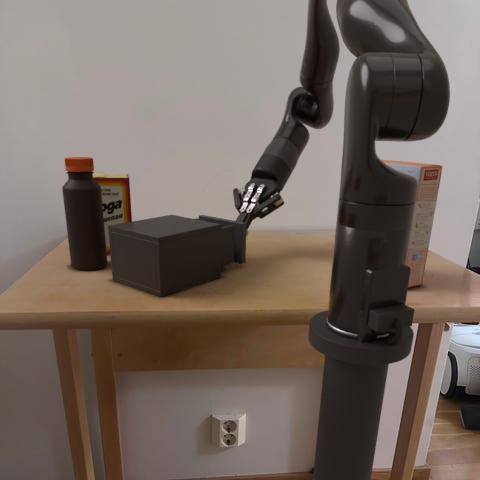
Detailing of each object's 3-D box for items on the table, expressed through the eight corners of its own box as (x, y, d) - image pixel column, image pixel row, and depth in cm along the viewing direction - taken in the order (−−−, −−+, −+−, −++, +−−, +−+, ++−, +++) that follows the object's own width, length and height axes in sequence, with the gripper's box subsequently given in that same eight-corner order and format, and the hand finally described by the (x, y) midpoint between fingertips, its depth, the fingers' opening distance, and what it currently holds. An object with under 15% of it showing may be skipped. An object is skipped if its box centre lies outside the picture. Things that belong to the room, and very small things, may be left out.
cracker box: (423, 285, 87) (445, 164, 79) (401, 291, 84) (420, 165, 76) (366, 266, 98) (380, 158, 90) (344, 270, 95) (357, 158, 87)
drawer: (216, 249, 105) (216, 212, 102) (258, 258, 98) (260, 219, 95) (153, 265, 92) (151, 224, 89) (197, 278, 86) (196, 233, 83)
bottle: (71, 262, 96) (58, 156, 89) (106, 260, 99) (97, 156, 91) (71, 272, 91) (58, 159, 83) (109, 269, 93) (99, 159, 85)
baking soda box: (132, 245, 110) (127, 172, 104) (134, 252, 104) (129, 175, 98) (89, 247, 108) (81, 172, 102) (88, 254, 102) (80, 176, 96)
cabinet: (173, 263, 97) (171, 214, 93) (221, 277, 90) (221, 224, 86) (112, 280, 87) (107, 225, 83) (160, 297, 79) (158, 237, 75)
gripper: (244, 150, 105) (206, 214, 101) (295, 154, 97) (256, 223, 93) (258, 174, 111) (222, 236, 107) (308, 179, 103) (271, 246, 99)
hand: (238, 230), depth 100 cm, fingers closed
